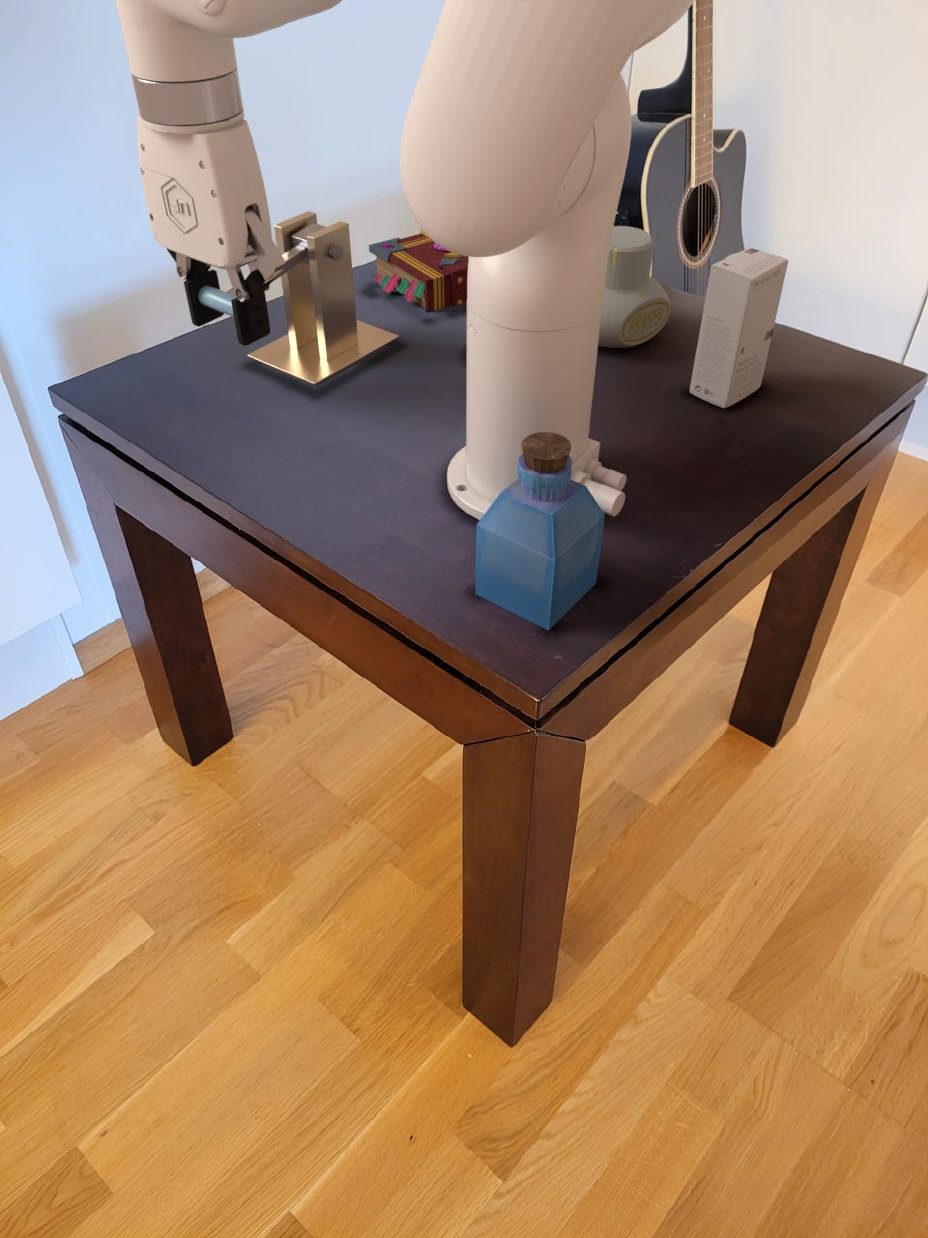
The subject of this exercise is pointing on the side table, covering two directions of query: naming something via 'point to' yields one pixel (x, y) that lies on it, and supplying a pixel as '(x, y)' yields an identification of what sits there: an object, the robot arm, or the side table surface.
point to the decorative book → (421, 271)
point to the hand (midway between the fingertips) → (231, 327)
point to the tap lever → (292, 258)
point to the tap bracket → (320, 308)
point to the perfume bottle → (540, 536)
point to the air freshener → (631, 292)
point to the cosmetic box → (737, 326)
